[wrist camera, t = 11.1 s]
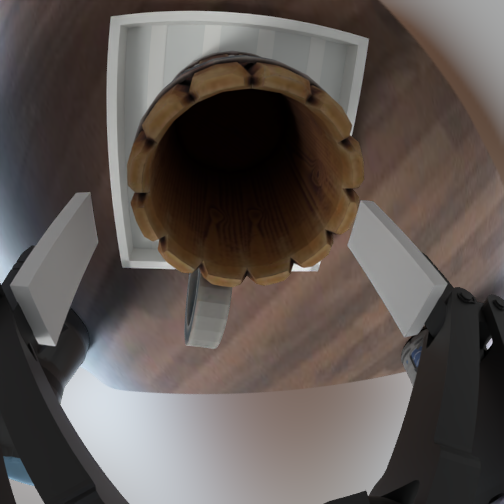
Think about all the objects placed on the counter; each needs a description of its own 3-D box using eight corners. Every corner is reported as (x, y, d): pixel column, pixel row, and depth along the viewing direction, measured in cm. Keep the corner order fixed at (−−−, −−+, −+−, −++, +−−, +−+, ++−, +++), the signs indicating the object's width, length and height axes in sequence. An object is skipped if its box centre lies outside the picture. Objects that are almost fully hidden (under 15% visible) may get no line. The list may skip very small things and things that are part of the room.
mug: (180, 39, 18) (122, 1, 6) (314, 74, 20) (437, 105, 8) (143, 217, 26) (99, 357, 14) (256, 238, 29) (287, 379, 16)
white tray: (128, 249, 29) (122, 267, 26) (122, 21, 17) (110, 16, 14) (310, 253, 32) (317, 271, 29) (352, 39, 19) (368, 38, 17)
